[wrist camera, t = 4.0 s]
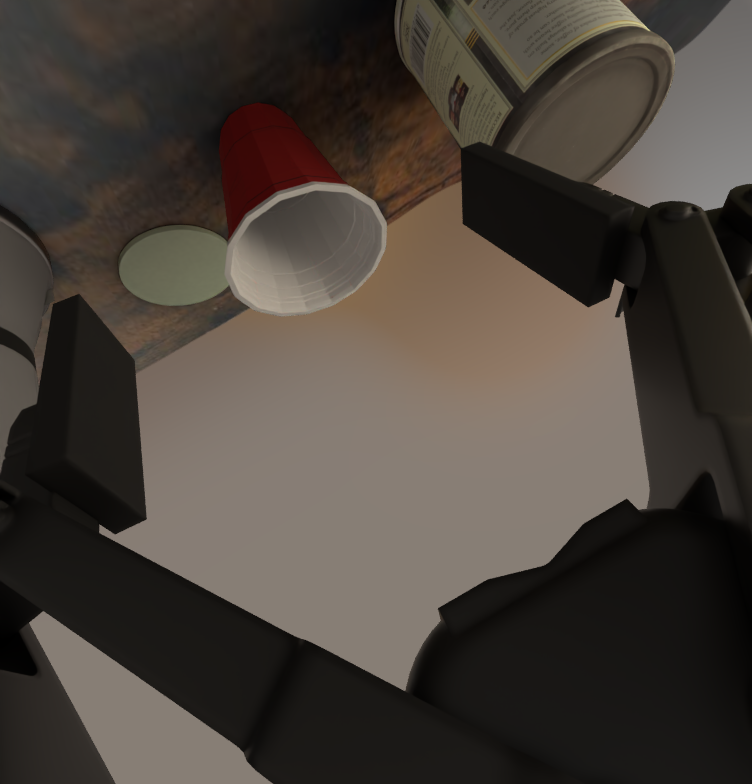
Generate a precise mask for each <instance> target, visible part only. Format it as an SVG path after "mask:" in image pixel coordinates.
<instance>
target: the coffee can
mask: <svg viewBox="0 0 752 784" xmlns="http://www.w3.org/2000/svg"><path fill="white" fill-rule="evenodd" d="M394 25H395V38H396V43H397V47H398V51H399V55H400V57H401V59H402V61H403V62H404V64H405V66H406V67H407V69H408V70H409V71H410V72H411V73H412V74H413V76H414V77H415V79H416V81H417V82H418V84H419V85H420V87H421V88H422V90H423V91H424V93H425V94H426V96H427V97H428V99H429V100H430V102H431V104H432V105H433V107H434V108H435V110H436V111H437V113H438V114H439V116H440V117H441V119H442V120H443V122H444V123H445V125H446V127H447V128H448V130H449V131H450V133H451V134H452V136H453V137H454V139H455V140H456V142H457V144H458V146H459V147H460V149H461V148H464V147H466V146H469V145H471V144H474V143H477V142H479V141H480V142H482V143H485V144H487V145H490V146H492V147H494V148H497V149H499V150H502V151H504V152H506V153H509V154H511V155H514V156H516V157H518V158H521V159H523V160H526V161H528V162H530V163H533V164H535V165H538V166H540V167H543V168H545V169H547V170H550V171H552V172H555V173H557V174H559V175H562V176H564V177H567V178H569V179H571V180H574V181H578V182H585V183H589V184H592V185H593V184H594V183H595V182H597V181H598V180H599V179H600V178H602V177H603V176H604V175H605V174H606V173H607V172H609V171H610V170H611V169H612V168H613V167H614V166H615V165H616V164H617V163H618V162H619V161H620V160H621V159H622V158H623V157H624V156H625V155H626V154H627V153H628V152H629V151H630V150H631V149H632V148H633V146H634V145H635V144H636V143H637V142H638V140H639V139H640V138H641V137H642V135H643V134H644V133H645V131H646V130H647V129H648V127H649V126H650V125H651V123H652V122H653V120H654V118H655V117H656V115H657V114H658V112H659V110H660V109H661V107H662V105H663V103H664V101H665V99H666V97H667V94H668V92H669V89H670V87H671V84H672V81H673V76H674V69H675V59H674V54H673V51H672V48H671V47H670V45H669V44H668V43H667V42H666V41H665V40H664V39H663V38H661V37H660V36H659V35H657V34H656V33H654V32H651V31H649V30H648V28H647V27H646V26H645V25H644V24H643V23H642V22H641V21H640V20H639V19H638V18H637V17H636V16H635V15H634V14H633V13H632V12H631V11H630V10H629V9H628V8H627V7H626V6H625V5H624V4H623V3H622V2H621V1H620V0H397V2H396V8H395V22H394Z"/></svg>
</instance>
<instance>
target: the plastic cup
mask: <svg viewBox="0 0 752 784" xmlns="http://www.w3.org/2000/svg"><path fill="white" fill-rule="evenodd" d="M219 155H220V161H221V168H222V186H223V193H224V201H225V208H226V216H227V223H228V231H229V234H228V243H227V252H226V261H225V273H224V275H225V277H226V279H227V281H228V283H229V285H230V287H231V290H232V292H233V294H234V296H235V297H236V298H237V299H239V300H240V301H242V302H243V303H244V304H246V305H247V306H249V307H250V308H251V309H253V310H254V311H258V312H262V313H267V314H272V315H276V316H292V315H305V314H309V313H312V312H315V311H318V310H321V309H324V308H327V307H330V306H333V305H335V304H336V303H338V302H339V301H341V300H343V299H344V298H346V297H347V296H349V295H350V294H352V293H354V292H355V291H357V290H358V289H359V288H360V286H361V285H362V284H363V283H364V282H365V281H366V280H367V279H368V278H369V277H370V276H371V275H372V274H373V272H374V271H375V270H376V267H377V266H378V264H379V261H380V259H381V257H382V255H383V253H384V251H385V249H386V232H387V223H386V221H385V219H384V217H383V215H382V214H381V212H380V210H379V208H378V206H377V204H376V202H375V201H373V200H372V199H371V198H369V197H367V196H366V195H364V194H362V193H361V192H359V191H357V190H356V189H354V188H352V187H351V186H349V185H348V184H347V183H346V182H345V181H343V180H342V179H341V177H340V176H339V175H338V174H337V172H336V171H335V170H334V169H333V167H332V166H331V165H330V164H329V163H328V161H327V160H326V159H325V158H324V156H323V155H322V154H321V153H320V151H319V150H318V149H317V148H316V146H315V145H314V144H313V143H312V142H311V140H310V139H309V138H308V137H306V136H305V135H304V134H303V132H302V131H301V130H300V128H299V127H298V126H297V124H296V123H295V122H294V121H293V119H292V118H291V117H290V116H288V115H287V114H286V113H285V112H283V111H282V110H280V109H279V108H277V107H275V106H274V105H269V104H263V103H254V104H250V105H246V106H242V107H240V108H239V109H238V110H236V111H235V112H234V113H232V114H231V115H230V116H229V117H228V118H227V120H226V122H225V123H224V125H223V127H222V129H221V134H220V145H219Z"/></svg>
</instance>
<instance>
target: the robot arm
mask: <svg viewBox="0 0 752 784" xmlns="http://www.w3.org/2000/svg"><path fill="white" fill-rule="evenodd" d="M461 175H462V208H463V209H462V212H463V224H464V225H465V226H467V227H468V228H470V229H471V230H473V231H474V232H476V233H478V234H479V235H480V236H482V237H483V238H485V239H487V240H488V241H489V242H491V243H492V244H494V245H495V246H497V247H498V248H500V249H501V250H503V251H504V252H506V253H507V254H509V255H511V256H512V257H513V258H515V259H516V260H518V261H519V262H521V263H522V264H524V265H525V266H527V267H528V268H530V269H531V270H533V271H535V272H536V273H537V274H539V275H540V276H542V277H543V278H545V279H546V280H548V281H549V282H551V283H553V284H554V285H556V286H557V287H558V288H560V289H561V290H563V291H565V292H566V293H567V294H569V295H570V296H572V297H573V298H575V299H576V300H578V301H579V302H581V303H582V304H584V305H585V306H587V307H590V306H592V305H594V304H597V303H599V302H601V301H603V300H605V299H607V298H609V297H610V293H611V290H612V286H613V283H614V279H616V280H618V281H620V282H621V283H623V284H625V285H624V288H623V291H622V295H621V298H620V301H619V305H618V308H617V312H616V315H615V317H620V314H621V312H622V311H624V317H625V324H626V330H627V337H628V344H629V351H630V357H631V364H632V371H633V378H634V384H635V390H636V398H637V405H638V411H639V418H640V424H641V431H642V438H643V445H644V452H645V457H646V465H647V471H648V478H649V487H650V494H649V501H648V506H647V509H642V510H638V509H637V508H636V507H635V506H634V505H633V504H632V503H631V502H630V501H629V500H628V499H626V500H624V501H622V502H620V503H618V504H617V505H615V506H613V507H612V508H610V509H608V510H606V511H605V512H603V513H601V514H600V515H598V516H596V517H594V518H593V519H591V520H589V521H588V522H586V523H584V524H583V525H582V526H581V527H580V529H578V531H577V532H576V533H575V534H574V535H573V536H572V537H571V539H570V540H569V541H568V542H567V543H566V545H564V546H563V548H562V549H561V550H560V551H559V552H558V553H557V554H556V555H555V557H554V558H553V559H552V560H551V561H550V562H549V563H548V564H546V565H544V566H541V567H537V568H533V569H529V570H525V571H521V572H517V573H513V574H508V575H505V576H500V577H496V578H492V579H488V580H486V581H484V582H483V583H481V584H479V585H477V586H476V587H474V588H472V589H470V590H469V591H467V592H465V593H464V594H462V595H460V596H458V597H457V598H455V599H453V600H452V601H450V602H448V603H446V604H445V605H443V606H441V607H440V608H438V610H439V615H440V619H441V621H440V622H439V624H438V625H437V626H436V627H435V628H434V630H432V632H431V633H430V634H429V636H428V637H427V639H426V640H425V642H424V643H423V645H422V647H421V649H420V651H419V653H418V655H417V656H416V658H415V661H414V664H413V666H412V669H411V671H410V674H409V679H408V682H407V686H406V691H403V690H401V689H399V688H398V687H396V686H394V685H392V684H390V683H388V682H386V681H384V680H382V679H380V678H379V677H376V676H375V675H373V674H371V673H369V672H367V671H365V670H363V669H361V668H360V667H358V666H356V665H354V664H352V663H350V662H348V661H346V660H344V659H342V658H340V657H339V656H337V655H335V654H333V653H331V652H329V651H327V650H325V649H323V648H321V647H319V646H317V645H315V644H313V643H311V642H309V641H306V640H304V639H300V638H297V637H295V636H293V635H291V634H289V633H287V632H285V631H283V630H282V629H279V628H278V627H276V626H274V625H272V624H270V623H268V622H266V621H265V620H263V619H261V618H259V617H257V616H255V615H253V614H251V613H249V612H247V611H245V610H244V609H242V608H240V607H238V606H236V605H234V604H232V603H230V602H228V601H227V600H225V599H223V598H221V597H219V596H217V595H215V594H213V593H211V592H210V591H208V590H206V589H204V588H202V587H200V586H198V585H196V584H194V583H192V582H191V581H189V580H187V579H185V578H183V577H181V576H179V575H177V574H175V573H174V572H172V571H170V570H168V569H166V568H164V567H162V566H160V565H158V564H157V563H155V562H153V561H151V560H149V559H147V558H145V557H143V556H141V555H140V554H138V553H136V552H134V551H132V550H130V549H128V548H126V547H124V546H122V545H121V544H119V543H117V542H115V541H113V540H111V539H109V538H107V537H105V536H104V535H102V534H100V533H99V524H100V525H102V526H103V527H105V528H106V529H108V530H109V531H111V532H112V533H114V534H117V533H119V532H121V531H123V530H125V529H127V528H129V527H132V526H134V525H136V524H138V523H140V522H142V521H144V520H146V519H147V518H146V505H145V492H144V479H143V466H142V453H141V441H140V427H139V414H138V401H137V388H136V376H135V375H136V374H135V361H134V359H133V358H132V357H131V355H130V354H129V353H128V352H127V351H126V349H125V348H124V347H123V346H122V345H121V343H120V342H119V341H118V340H117V339H116V337H115V336H114V335H113V334H112V333H111V331H110V330H109V329H108V328H107V327H106V325H105V324H104V323H103V322H102V321H101V319H100V318H99V317H98V316H97V315H96V313H95V312H94V311H93V310H92V308H91V307H90V306H89V305H88V304H87V302H86V301H85V300H84V299H83V298H82V296H81V295H80V294H78V295H75V296H73V297H70V298H67V299H65V300H62V301H59V302H57V303H54V304H53V307H52V314H51V320H50V326H49V332H48V338H47V344H46V350H45V356H44V362H43V368H42V374H41V380H40V386H39V385H38V378H37V373H36V365H35V358H34V349H35V346H36V343H37V340H38V337H39V333H40V329H41V324H42V316H43V315H44V314H45V312H46V311H47V309H48V307H49V305H50V303H51V302H54V295H53V284H54V281H53V274H52V268H51V262H50V258H49V255H48V253H47V251H46V248H45V247H44V245H43V243H42V242H41V240H40V239H39V238H38V236H37V235H36V234H35V233H34V232H33V231H32V230H31V229H30V228H29V227H28V226H27V225H26V224H25V223H24V222H23V221H22V220H20V219H19V218H18V217H17V216H15V215H14V214H13V213H11V212H10V211H8V210H7V209H5V208H4V207H2V206H1V205H0V784H115V782H114V780H113V778H112V776H111V774H110V773H109V771H108V769H107V767H106V765H105V763H104V761H103V760H102V758H101V756H100V754H99V752H98V751H97V748H96V747H95V745H94V743H93V741H92V740H91V737H90V735H89V734H88V732H87V730H86V728H85V727H84V725H83V723H82V721H81V719H80V717H79V715H78V713H77V712H76V710H75V708H74V706H73V704H72V702H71V700H70V699H69V697H68V695H67V693H66V691H65V689H64V687H63V686H62V684H61V682H60V680H59V679H58V676H57V675H56V673H55V671H54V669H53V667H52V665H51V663H50V662H49V660H48V658H47V656H46V654H45V652H44V650H43V648H42V647H41V645H40V643H39V641H38V639H37V638H36V635H35V634H34V632H33V630H32V628H31V626H30V624H29V622H30V621H32V619H34V618H35V617H36V616H38V615H39V614H40V613H41V612H42V611H44V612H46V613H47V614H49V615H50V616H52V617H53V618H55V619H56V620H57V621H59V622H60V623H62V624H63V625H64V626H66V627H67V628H69V629H70V630H72V631H73V632H74V633H76V634H77V635H79V636H80V637H82V638H83V639H84V640H86V641H87V642H89V643H90V644H92V645H93V646H95V647H96V648H97V649H99V650H100V651H102V652H103V653H105V654H106V655H107V656H109V657H110V658H112V659H113V660H115V661H116V662H118V663H119V664H120V665H122V666H123V667H125V668H126V669H127V670H129V671H130V672H132V673H134V674H135V675H136V676H138V677H139V678H140V679H142V680H143V681H145V682H146V683H148V684H149V685H150V686H152V687H153V688H155V689H156V690H158V691H159V692H160V693H162V694H163V695H165V696H166V697H168V698H169V699H171V700H172V701H173V702H175V703H176V704H178V705H179V706H180V707H182V708H183V709H185V710H186V711H188V712H189V713H191V714H192V715H193V716H195V717H196V718H198V719H199V720H201V721H202V722H203V723H205V724H206V725H208V726H209V727H211V728H212V729H213V730H215V731H216V732H218V733H219V734H221V735H222V736H224V737H225V738H226V739H228V740H230V741H231V742H232V743H234V744H235V745H236V746H237V747H239V748H240V749H241V750H242V751H243V752H244V755H245V757H246V760H247V762H248V763H249V764H250V765H251V766H252V767H253V768H254V769H255V770H256V771H257V772H259V773H260V774H261V775H262V776H264V777H265V778H266V779H268V780H269V781H270V782H272V783H273V784H752V184H746V185H741V186H738V187H735V188H733V189H732V190H730V192H729V194H728V196H727V199H726V201H725V203H724V206H723V207H722V208H717V209H712V210H707V211H704V210H703V209H702V208H701V207H699V206H697V205H694V204H691V203H687V202H680V201H678V202H677V201H668V202H661V203H658V204H655V205H652V206H651V207H650V208H648V207H645V206H643V205H640V204H638V203H636V202H633V201H631V200H628V199H626V198H623V197H621V196H618V195H616V194H615V195H613V194H612V193H611V192H609V191H606V190H602V189H601V188H599V187H596V186H594V185H592V184H589V183H585V182H578V181H574V180H571V179H569V178H567V177H564V176H562V175H559V174H557V173H555V172H552V171H550V170H547V169H545V168H543V167H540V166H538V165H535V164H533V163H530V162H528V161H526V160H523V159H521V158H518V157H516V156H514V155H511V154H509V153H506V152H504V151H502V150H499V149H497V148H494V147H492V146H490V145H487V144H485V143H482V142H480V141H479V142H477V143H474V144H471V145H469V146H466V147H464V148H461Z"/></svg>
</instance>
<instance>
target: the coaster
mask: <svg viewBox="0 0 752 784" xmlns="http://www.w3.org/2000/svg"><path fill="white" fill-rule="evenodd" d="M227 243H228V242H227V241H226V240H225V239H224V238H222V237H221V236H220V235H218V234H216V233H214V232H213V231H210V230H207V229H205V228H201V227H197V226H191V225H170V226H163V227H158V228H155V229H152V230H149V231H146V232H144V233H142V234H140V235H139V236H137V237H135V238H134V239H133V240H131V241H130V242H129V243H128V244H127V245H126V246H125V247H124V249H123V250H122V252H121V254H120V257H119V260H118V271H119V275H120V279H121V281H122V283H123V284H124V286H125V287H126V288H127V289H128V290H129V291H130V292H131V293H132V294H134V295H135V296H137V297H139V298H141V299H143V300H145V301H148V302H151V303H155V304H160V305H168V306H181V305H189V304H195V303H198V302H202V301H205V300H207V299H210V298H212V297H214V296H216V295H217V294H219V293H220V292H222V291H223V290H224V289H225V288H227V287H228V286H229V283H228V281H227V279H226V277H225V275H224V273H225V261H226V252H227Z"/></svg>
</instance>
